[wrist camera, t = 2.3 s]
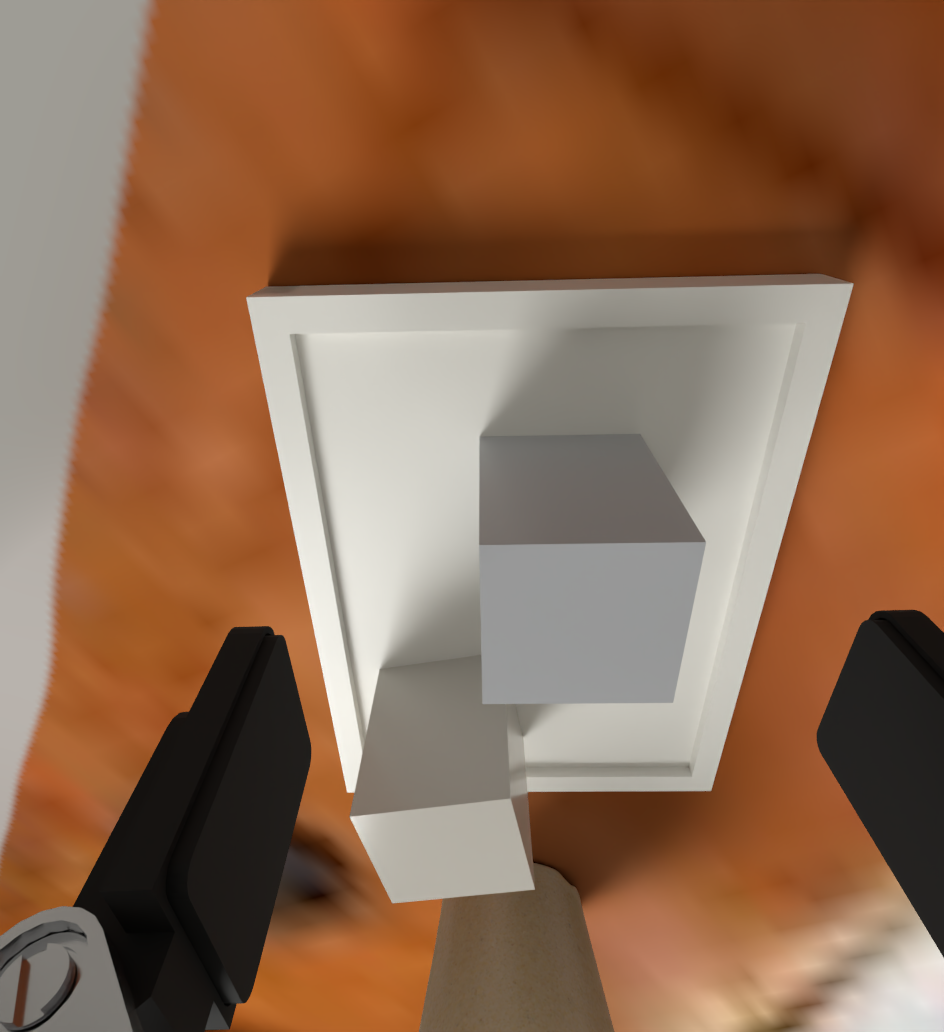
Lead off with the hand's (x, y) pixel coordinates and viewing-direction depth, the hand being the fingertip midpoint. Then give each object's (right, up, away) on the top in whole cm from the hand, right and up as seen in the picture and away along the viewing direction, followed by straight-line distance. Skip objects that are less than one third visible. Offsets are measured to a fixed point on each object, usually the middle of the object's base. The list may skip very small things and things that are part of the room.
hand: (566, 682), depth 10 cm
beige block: (-2, -3, +10) cm, 11 cm away
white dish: (0, +1, +8) cm, 8 cm away
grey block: (+1, +3, +6) cm, 7 cm away
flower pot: (0, -14, +18) cm, 23 cm away
